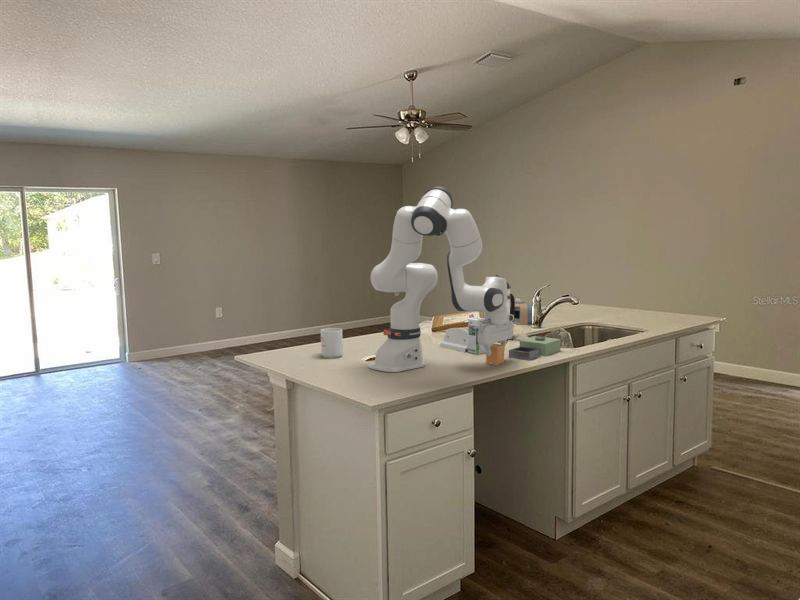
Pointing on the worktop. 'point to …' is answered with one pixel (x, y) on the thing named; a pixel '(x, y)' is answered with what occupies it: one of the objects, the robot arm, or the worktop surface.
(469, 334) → the syrup box
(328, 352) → the mug
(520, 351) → the tray
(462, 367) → the worktop surface
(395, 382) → the worktop surface
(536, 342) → the green box
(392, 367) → the robot arm
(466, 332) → the hinge
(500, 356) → the orange rectangular block
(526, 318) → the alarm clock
